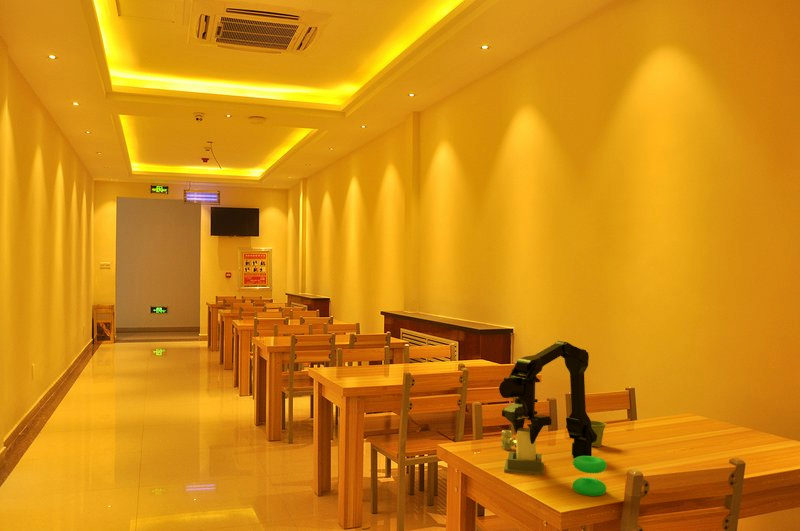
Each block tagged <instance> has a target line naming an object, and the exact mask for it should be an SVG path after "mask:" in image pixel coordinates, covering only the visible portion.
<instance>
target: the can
mask: <svg viewBox="0 0 800 531" xmlns="http://www.w3.org/2000/svg"><path fill="white" fill-rule="evenodd" d="M517 430H518V431H517V433H515V440H516V447H515V448H516V450H515V452H517V459H522V460H534V461H536V454H537V447H536V446H537V443H536V442H537V441H536V440H537V439H536V440H535V442H534V444H531V441H530V428H529V427H523V428H519V429H517Z"/></svg>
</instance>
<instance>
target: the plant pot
mask: <svg viewBox="0 0 800 531" xmlns="http://www.w3.org/2000/svg"><path fill="white" fill-rule="evenodd" d="M591 426H592V429H593V431H594V432H595V433H596V435H597V440H596V442H594V443H592V447H595V448H599V447H601V446H602V443H603V436H604V431H605V428H606V426H607V423H606V422H603V421H600V420H591Z"/></svg>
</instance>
